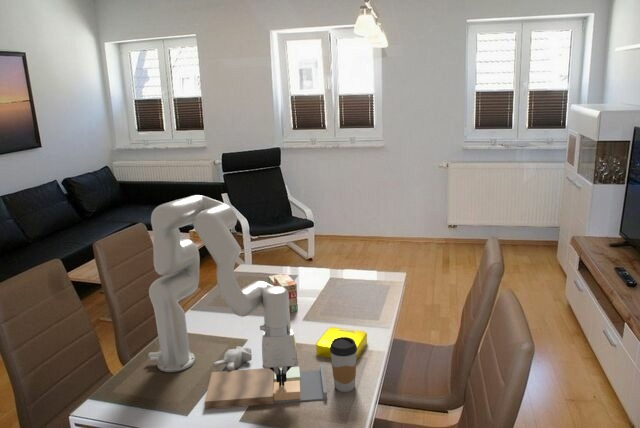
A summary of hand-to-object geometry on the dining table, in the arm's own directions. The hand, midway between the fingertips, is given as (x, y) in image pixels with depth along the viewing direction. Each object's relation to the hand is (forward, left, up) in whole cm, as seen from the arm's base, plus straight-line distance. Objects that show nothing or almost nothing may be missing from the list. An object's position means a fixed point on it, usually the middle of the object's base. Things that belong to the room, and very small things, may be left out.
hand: (281, 383), depth 157 cm
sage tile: (+1, +8, -4) cm, 9 cm away
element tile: (+21, +26, -5) cm, 34 cm away
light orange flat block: (+1, 0, -4) cm, 4 cm away
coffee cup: (+19, +2, -4) cm, 20 cm away
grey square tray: (+5, +4, -4) cm, 8 cm away
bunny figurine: (-16, +20, -4) cm, 26 cm away
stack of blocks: (0, +69, -4) cm, 69 cm away
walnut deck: (-13, +4, -4) cm, 14 cm away
